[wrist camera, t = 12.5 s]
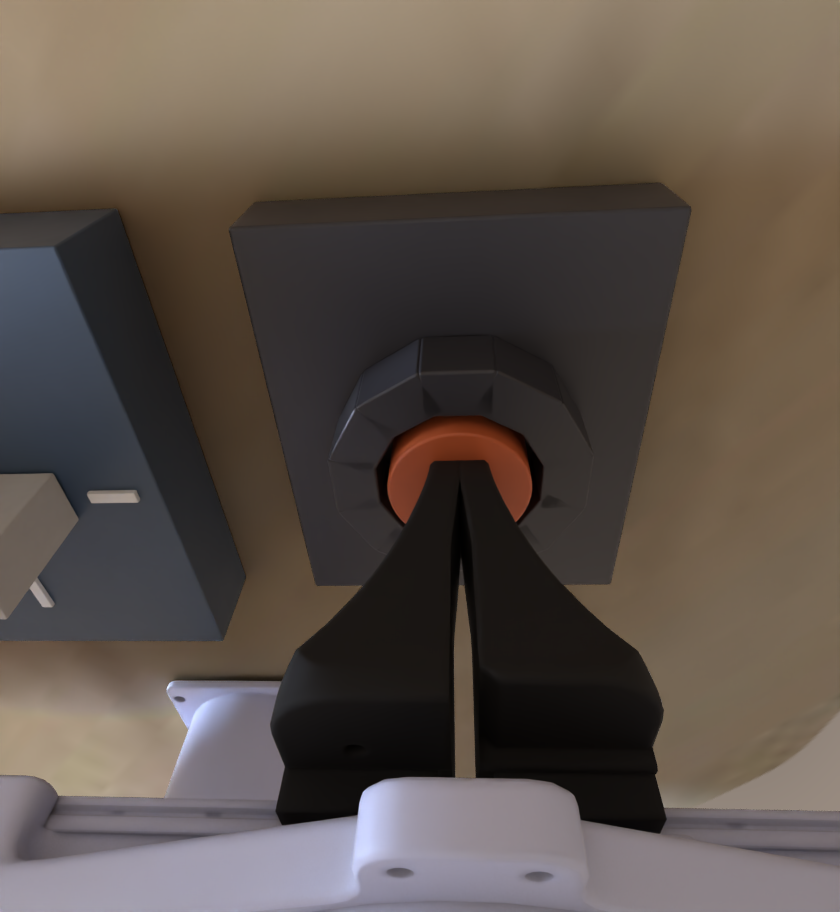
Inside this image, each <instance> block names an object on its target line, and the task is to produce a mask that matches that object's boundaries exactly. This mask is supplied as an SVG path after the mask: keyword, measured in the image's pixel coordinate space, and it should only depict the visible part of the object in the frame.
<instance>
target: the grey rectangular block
mask: <svg viewBox="0 0 840 912" xmlns="http://www.w3.org/2000/svg"><path fill="white" fill-rule="evenodd" d="M78 520H79V519H78V517H77V515H76V513H75V511H74V510H73V508H72V506H71V504H70V502H69V501H68V499H67V497H66V495H65V493H64V492H63V490H62V488H61V486H60V484H59V483H58V481H57V479H56V477H55V475H54V474H53V473H40V474H0V619H7V618H8V617H9V616H10V615H11V613H12V612H13V610H14V609H15V608H16V606H17V605H18V603H19V602H20V601H21V599H22V598H23V597H24V595H25V594H26V592H27V591H28V590H29V588H30V587H31V585H32V584H33V583H34V581H35V580H36V579H37V577H38V576H39V574H40V573H41V572H42V570H43V569H44V567H45V566H46V565H47V563H48V562H49V560H50V559H51V558H52V556H53V555H54V554H55V552H56V551H57V549H58V548H59V547H60V545H61V544H62V542H63V541H64V540H65V538H66V537H67V536H68V534H69V533H70V531H71V530H72V529H73V527H74V526H75V524H76V523H77V522H78Z"/></svg>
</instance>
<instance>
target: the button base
mask: <svg viewBox="0 0 840 912" xmlns="http://www.w3.org/2000/svg"><path fill="white" fill-rule="evenodd" d="M690 214H691V207H690V206H689V205H688V204H687V203H686V202H684V201H683V200H682V199H681V198H680V197H678V196H677V195H676V194H675V193H674V192H672V191H671V190H670V189H669V188H667V187H666V186H665V185H664V184H662V183H646V184H625V185H604V186H583V187H562V188H541V189H520V190H499V191H478V192H457V193H436V194H415V195H394V196H373V197H352V198H331V199H310V200H289V201H268V202H255V203H253V204H252V205H251V206H250V207H249V208H248V209H247V210H246V211H245V212H244V213H243V214H242V215H241V216H240V217H239V218H238V219H237V220H236V221H235V222H234V223H233V224H232V225H231V226H230V227H229V233H230V237H231V241H232V245H233V250H234V254H235V258H236V262H237V266H238V270H239V274H240V278H241V282H242V286H243V290H244V294H245V298H246V303H247V307H248V311H249V315H250V319H251V323H252V327H253V331H254V335H255V339H256V343H257V347H258V352H259V356H260V360H261V364H262V368H263V372H264V376H265V380H266V384H267V388H268V392H269V396H270V400H271V405H272V409H273V413H274V417H275V421H276V425H277V429H278V433H279V437H280V441H281V445H282V449H283V454H284V458H285V462H286V466H287V470H288V474H289V478H290V482H291V486H292V490H293V494H294V498H295V503H296V507H297V511H298V515H299V519H300V523H301V527H302V531H303V535H304V539H305V543H306V547H307V551H308V556H309V560H310V564H311V568H312V572H313V576H314V580H315V584H316V585H317V586H363V585H364V584H365V583H366V581H367V580H368V579H369V578H370V577H371V575H372V574H373V573H374V572H375V570H376V569H377V568H378V566H379V565H380V564H381V562H382V561H383V559H384V558H385V557H386V555H387V554H388V552H389V551H390V549H391V548H392V546H393V545H394V543H395V541H396V540H397V538H398V536H399V535H400V533H401V531H402V529H403V528H404V526H405V523H404V522H403V521H402V520H401V519H400V518H399V517H398V515H397V514H396V513H395V511H394V509H393V508H392V506H391V503H390V500H389V497H388V491H387V483H388V476H389V468H390V460H391V452H392V445H393V439H394V438H395V437H396V436H398V435H400V434H402V433H404V432H406V431H407V430H409V429H411V428H413V427H415V426H417V425H419V424H421V423H423V422H425V421H427V420H429V419H431V418H433V417H438V416H483V417H486V418H488V419H490V420H492V421H494V422H496V423H499V424H501V425H503V426H505V427H507V428H509V429H512V430H514V431H516V432H518V433H520V434H522V435H523V436H524V438H525V444H526V450H527V455H528V461H529V467H530V473H531V478H532V494H531V498H530V501H529V504H528V506H527V508H526V510H525V512H524V513H523V514H522V516H521V517H520V518H519V519H518V520H517V521H516V523H517V525H518V526H519V528H520V530H521V531H522V533H523V534H524V536H525V537H526V539H527V540H528V542H529V543H530V545H531V546H532V547H533V549H534V550H535V551H536V553H537V554H538V555H539V557H540V558H541V559H542V561H543V562H544V563H545V564H546V566H547V567H548V568H549V569H550V571H551V572H552V573H553V574H554V575H555V576H556V577H557V579H558V580H559V581H560V582H561V583H562V584H563V585H580V584H610V583H611V580H612V575H613V571H614V566H615V561H616V557H617V552H618V547H619V543H620V538H621V534H622V529H623V524H624V520H625V515H626V510H627V506H628V501H629V497H630V492H631V487H632V483H633V478H634V473H635V469H636V464H637V460H638V455H639V450H640V446H641V441H642V436H643V432H644V427H645V423H646V418H647V413H648V409H649V404H650V399H651V395H652V390H653V386H654V381H655V376H656V372H657V367H658V362H659V358H660V353H661V349H662V344H663V339H664V335H665V330H666V325H667V321H668V316H669V312H670V307H671V302H672V298H673V293H674V288H675V284H676V279H677V274H678V270H679V265H680V261H681V256H682V251H683V247H684V242H685V237H686V233H687V228H688V224H689V219H690ZM459 585H464V577H463V569H462V561H461V564H460V576H459Z"/></svg>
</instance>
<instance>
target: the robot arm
mask: <svg viewBox="0 0 840 912" xmlns="http://www.w3.org/2000/svg"><path fill="white" fill-rule="evenodd" d="M461 561H462V569H463V577H464V585H465V593H466V601H467V609H468V617H469V625H470V633H471V644H472V664H473V697H474V731H475V767H476V778H455V722H454V635H455V623H456V611H457V600H458V588H459V576H460V564H461ZM166 691H167V694H168V695H169V697H170V699H171V700H172V702H173V704H174V706H175V707H176V709H177V711H178V713H179V714H180V716H181V718H182V720H183V721H184V723H185V725H186V727H187V728H188V733H187V735H186V738H185V741H184V744H183V747H182V749H181V752H180V755H179V758H178V760H177V763H176V766H175V769H174V772H173V774H172V777H171V780H170V783H169V785H168V788H167V791H166V794H165V796H164V798H139V797H88V796H58V795H57V792H56V791H55V789H54V788H53V787H52V786H51V785H50V784H49V783H48V782H46V781H45V780H43V779H40V778H37V777H33V776H24V775H0V912H840V811H799V810H793V811H792V810H746V809H697V808H664V807H663V803H662V799H661V796H660V792H659V788H658V784H657V781H656V777H655V774H656V773H657V771H658V769H657V762H656V759H655V755H654V752H653V748H652V747H653V744H654V742H655V739H656V736H657V734H658V731H659V728H660V726H661V723H662V721H663V712H664V709H663V707H662V703H661V699H660V696H659V693H658V691H657V688H656V686H655V684H654V681H653V679H652V677H651V675H650V673H649V671H648V669H647V667H646V665H645V663H644V661H643V659H642V658H641V656H640V654H639V652H638V651H637V650H636V649H635V648H633V647H632V646H631V645H629V644H628V643H627V642H625V641H624V640H623V639H622V638H620V637H619V636H618V635H616V634H615V633H614V632H613V631H611V630H610V629H609V628H608V627H606V626H605V625H604V624H603V623H602V622H601V621H600V620H599V619H597V618H596V617H595V616H594V615H593V614H592V613H591V612H590V611H588V610H587V609H586V608H585V607H584V606H583V605H582V604H581V603H580V602H579V600H578V599H577V598H576V597H575V596H574V595H573V594H572V593H571V592H570V591H569V590H568V589H567V588H566V587H565V586H564V585H563V584H562V583H561V582H560V581H559V580H558V579H557V577H556V576H555V575H554V574H553V573H552V572H551V571H550V569H549V568H548V567H547V566H546V564H545V563H544V562H543V561H542V559H541V558H540V557H539V555H538V554H537V553H536V551H535V550H534V549H533V547H532V546H531V545H530V543H529V542H528V540H527V539H526V537H525V536H524V534H523V533H522V531H521V530H520V528H519V526H518V525H517V523H516V522H515V520H514V518H513V516H512V515H511V513H510V511H509V509H508V508H507V506H506V504H505V502H504V500H503V498H502V496H501V494H500V492H499V490H498V488H497V486H496V483H495V481H494V479H493V476H492V473H491V470H490V467H489V463H487V462H486V461H485V460H454V461H434V462H433V463H431V464H430V467H429V472H428V475H427V478H426V481H425V484H424V487H423V489H422V491H421V494H420V496H419V498H418V501H417V503H416V505H415V507H414V509H413V511H412V513H411V515H410V517H409V519H408V521H407V523H406V524H405V526H404V528H403V529H402V531H401V533H400V535H399V536H398V538H397V540H396V541H395V543H394V545H393V546H392V548H391V549H390V551H389V552H388V554H387V555H386V557H385V558H384V559H383V561H382V562H381V564H380V565H379V566H378V568H377V569H376V570H375V572H374V573H373V574H372V575H371V577H370V578H369V579H368V580H367V581H366V583H365V584H364V585H363V586H362V588H361V589H360V590H359V591H358V592H357V593H356V594H355V596H354V597H353V598H352V599H351V600H350V601H349V602H348V603H347V604H346V605H345V606H344V607H343V608H342V609H341V610H340V611H339V612H338V613H337V614H336V615H335V616H334V617H333V618H332V619H331V620H330V621H329V622H328V623H327V624H326V625H325V626H324V627H322V628H321V629H320V630H319V631H318V632H317V633H315V634H314V635H313V636H312V637H311V638H310V639H308V640H307V641H306V642H305V643H304V644H303V645H301V646H300V647H299V648H298V649H297V650H296V651H295V653H294V655H293V657H292V659H291V661H290V663H289V665H288V667H287V670H286V672H285V675H284V677H283V680H282V681H195V680H176V681H172V682H170V683H169V685H168V687H167V690H166Z"/></svg>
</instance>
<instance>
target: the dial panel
mask: <svg viewBox="0 0 840 912" xmlns="http://www.w3.org/2000/svg"><path fill="white" fill-rule="evenodd" d="M40 473H53V474H54V475H55V477H56V479H57V481H58V483H59V484H60V486H61V488H62V490H63V492H64V493H65V495H66V497H67V499H68V501H69V502H70V504H71V506H72V508H73V510H74V511H75V513H76V515H77V517H78V519H79V520H78V522H77V523H76V524H75V526H74V527H73V529H72V530H71V531H70V533H69V534H68V536H67V537H66V538H65V540H64V541H63V542H62V544H61V545H60V547H59V548H58V549H57V551H56V552H55V554H54V555H53V556H52V558H51V559H50V560H49V562H48V563H47V565H46V566H45V567H44V569H43V570H42V572H41V573H40V574H39V576H38V577H37V579H36V580H35V581H34V583H33V584H32V585H31V587H30V588H29V590H28V591H27V592H26V594H25V595H24V597H23V598H22V599H21V601H20V602H19V603H18V605H17V606H16V608H15V609H14V610H13V612H12V613H11V615H10V616H9V617H8V618H7V619H0V641H223V640H224V637H225V635H226V632H227V629H228V626H229V623H230V621H231V618H232V615H233V612H234V609H235V607H236V604H237V601H238V598H239V595H240V593H241V590H242V587H243V584H244V581H245V579H246V576H245V573H244V570H243V567H242V564H241V561H240V558H239V556H238V553H237V550H236V547H235V544H234V541H233V538H232V536H231V533H230V530H229V527H228V524H227V521H226V518H225V516H224V513H223V510H222V507H221V504H220V501H219V498H218V496H217V493H216V490H215V487H214V484H213V481H212V478H211V476H210V473H209V470H208V467H207V464H206V461H205V458H204V456H203V453H202V450H201V447H200V444H199V441H198V438H197V436H196V433H195V430H194V427H193V424H192V421H191V418H190V416H189V413H188V410H187V407H186V404H185V401H184V398H183V396H182V393H181V390H180V387H179V384H178V381H177V378H176V376H175V373H174V370H173V367H172V364H171V361H170V358H169V356H168V353H167V350H166V347H165V344H164V341H163V338H162V336H161V333H160V330H159V327H158V324H157V321H156V318H155V315H154V313H153V310H152V307H151V304H150V301H149V298H148V295H147V293H146V290H145V287H144V284H143V281H142V278H141V275H140V273H139V270H138V267H137V264H136V261H135V258H134V255H133V253H132V250H131V247H130V244H129V241H128V238H127V235H126V233H125V230H124V227H123V224H122V221H121V218H120V215H119V213H118V210H117V209H94V210H73V211H52V212H31V213H10V214H0V474H40Z"/></svg>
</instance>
